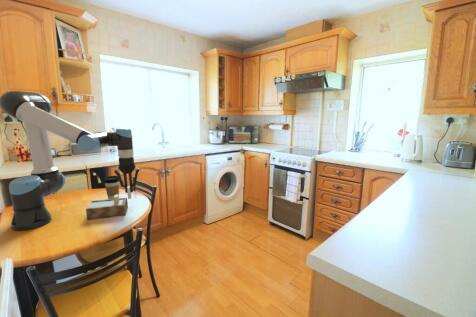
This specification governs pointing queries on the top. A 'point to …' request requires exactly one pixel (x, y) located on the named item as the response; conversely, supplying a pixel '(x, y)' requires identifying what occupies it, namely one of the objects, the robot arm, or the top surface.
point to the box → (107, 210)
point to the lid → (107, 202)
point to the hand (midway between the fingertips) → (129, 197)
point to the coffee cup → (112, 186)
